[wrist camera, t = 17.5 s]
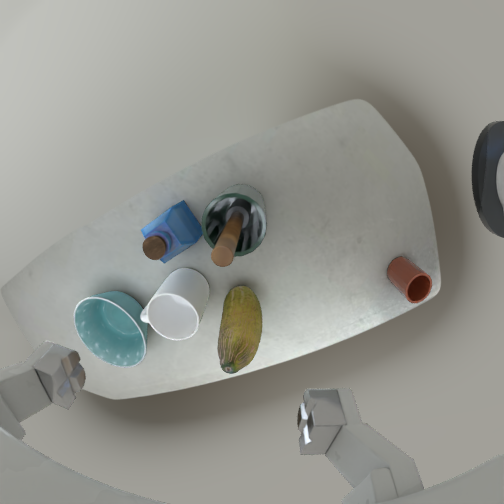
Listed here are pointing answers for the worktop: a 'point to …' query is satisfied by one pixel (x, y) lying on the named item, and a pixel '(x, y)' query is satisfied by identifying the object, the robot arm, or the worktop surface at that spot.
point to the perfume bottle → (171, 233)
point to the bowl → (112, 328)
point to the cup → (216, 220)
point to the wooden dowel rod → (231, 232)
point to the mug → (178, 305)
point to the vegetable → (239, 329)
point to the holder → (409, 279)
